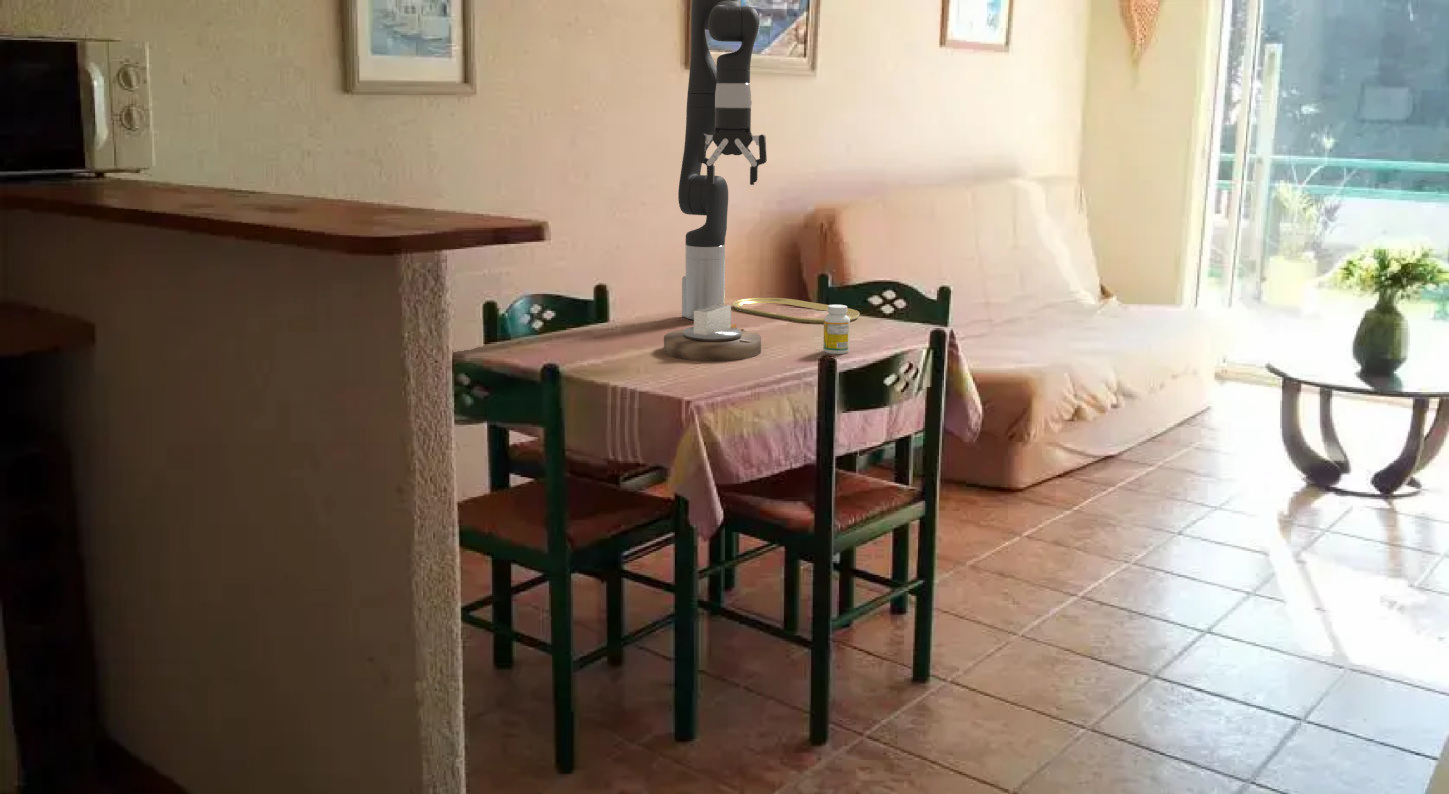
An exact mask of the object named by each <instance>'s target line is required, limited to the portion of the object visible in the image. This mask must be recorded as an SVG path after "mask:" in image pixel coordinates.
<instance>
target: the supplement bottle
mask: <svg viewBox="0 0 1449 794" xmlns="http://www.w3.org/2000/svg"><path fill="white" fill-rule="evenodd" d="M827 305H828V311H827V313H828V315H826V316H825V317H824V318H823V319H824V323H823V348H822V349H823V351H824V352H825V353H827V354H830V355H845V354H848V353H849V351H850V337H851V336H850V332H851V330H850V329H851V321H850V318H849V317H850V316H849V315H847V314H846V313H847V308H848V306H847V305H844V304H827Z"/></svg>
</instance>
